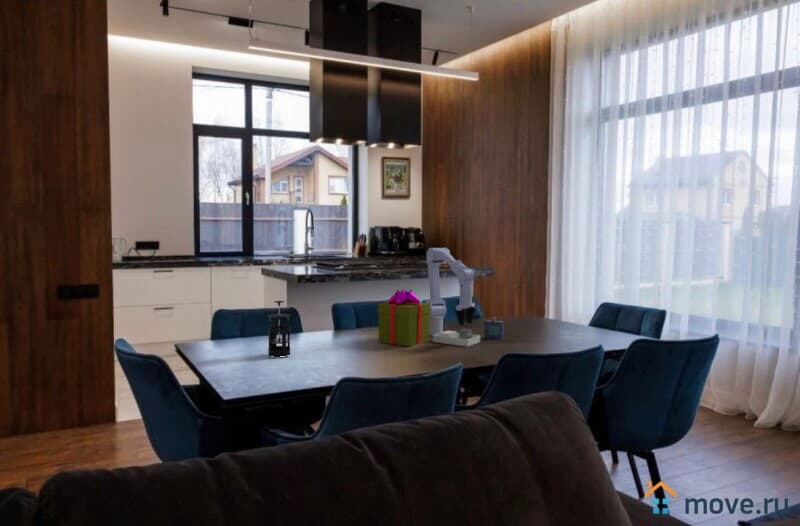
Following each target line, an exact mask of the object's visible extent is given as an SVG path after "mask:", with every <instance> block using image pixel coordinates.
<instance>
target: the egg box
mask: <svg viewBox="0 0 800 526" xmlns="http://www.w3.org/2000/svg"><path fill="white" fill-rule="evenodd" d="M457 333H458V331H455V330H444V331H443V332H441V333H439V336H444V337H452V338H457Z"/></svg>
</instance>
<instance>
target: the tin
mask: <svg viewBox="0 0 800 526" xmlns="http://www.w3.org/2000/svg"><path fill="white" fill-rule="evenodd" d="M458 333H459V339H470V338H472V335H473V329H469V328H462V329H459V330H458Z"/></svg>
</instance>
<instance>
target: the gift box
mask: <svg viewBox="0 0 800 526" xmlns="http://www.w3.org/2000/svg"><path fill="white" fill-rule="evenodd" d="M418 298H419V297H417V296H416V295H415V294H414V293H413V289H410V290H409V291H408V290H406V289H405V288H403V289H402V290H398V289H396V291H395V293H393V294H392V295H391V297H390V298H389V299H388V301H385V302H383V301H382V302H381V303H378V304H377V313H378V342H379V343H386V344H390V345H393V344H394V345H395V344H398V346H406V347H410V346H414V345H420V344H421V343H424V342H427V341H430V335H429V314H430V303H426V302H421V300H419V299H418ZM394 345H393V346H394ZM395 346H396V345H395Z"/></svg>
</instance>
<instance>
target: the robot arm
mask: <svg viewBox="0 0 800 526" xmlns="http://www.w3.org/2000/svg"><path fill="white" fill-rule="evenodd" d="M425 255H426V264H427V267H428V268H427V269H428V283H429V285H428V286H429V299H428V300H427V301H426V302H425V303H430V314H429V336H431V337H433V335H436V334H439V333H441V332H444V330H443V329H444V323H443V322H444V318H445V317H446V315H447V311H448V310H447V306H446V301H445V300H444V299H442V298H441V296H442V295H441V282H440V267H441V265H443V264H444V263H446V264H448V265H449V266H450V270H451V271H452V272H453V273H454V274H455V275H456V277H457V280H458V286H459V304H458V305H456V306H455V308H456V309H454V314H456V317H457V322H458V325H459V326H464V325H465V322H466V323H467V324H472V322H473V319H474V315H475V313H476V311H477V307H476V306H475V302H473V282H474V280H475V278H476V272H475V271H474V269H473V268H468V267H467V265H465V264H464V263H463V262H462V261H461V260H456V259H455V258H454V256H453V255H451V252H450V249H449V248H447V247H429V248H428V249H427V251H426V253H425Z"/></svg>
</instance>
